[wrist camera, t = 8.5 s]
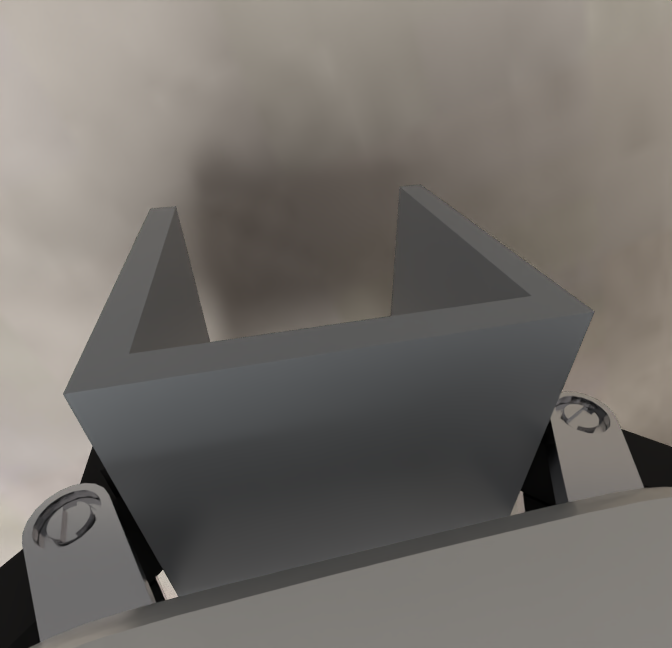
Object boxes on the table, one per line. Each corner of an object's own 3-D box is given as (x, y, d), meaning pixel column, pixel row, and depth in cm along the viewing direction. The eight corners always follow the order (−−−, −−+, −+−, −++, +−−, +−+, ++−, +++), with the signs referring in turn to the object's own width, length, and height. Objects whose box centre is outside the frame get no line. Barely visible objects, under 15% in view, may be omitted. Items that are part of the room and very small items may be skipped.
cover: (420, 184, 11) (594, 311, 6) (400, 395, 16) (486, 571, 10) (150, 208, 10) (62, 393, 5) (214, 428, 14) (206, 645, 9)
